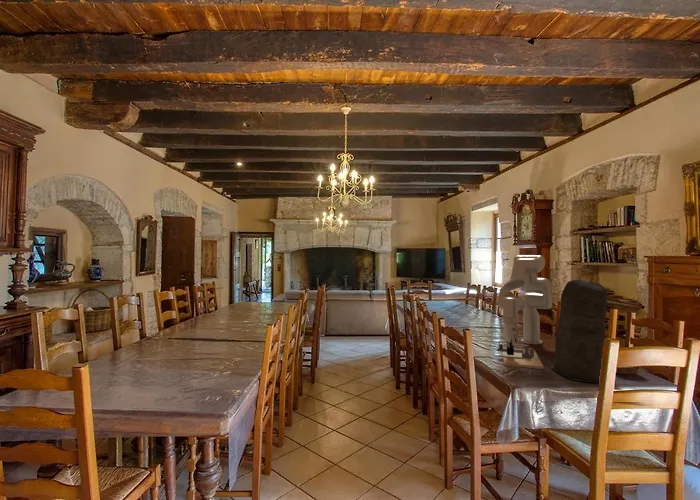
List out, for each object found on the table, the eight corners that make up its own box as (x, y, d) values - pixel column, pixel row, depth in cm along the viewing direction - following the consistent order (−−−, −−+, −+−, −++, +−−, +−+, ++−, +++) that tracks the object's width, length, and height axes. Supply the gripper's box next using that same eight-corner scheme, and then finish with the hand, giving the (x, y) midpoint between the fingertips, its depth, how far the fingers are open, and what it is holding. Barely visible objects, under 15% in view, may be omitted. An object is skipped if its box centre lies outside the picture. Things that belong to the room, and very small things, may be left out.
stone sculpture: (557, 382, 168) (567, 284, 163) (548, 365, 187) (557, 276, 183) (619, 392, 160) (631, 289, 156) (603, 373, 180) (614, 281, 175)
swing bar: (523, 352, 203) (523, 345, 203) (523, 353, 201) (523, 346, 201) (497, 350, 206) (497, 344, 207) (497, 351, 205) (497, 344, 205)
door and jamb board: (501, 349, 222) (501, 336, 222) (534, 352, 216) (534, 339, 216) (504, 365, 190) (504, 350, 190) (543, 369, 184) (543, 353, 184)
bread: (639, 375, 175) (639, 353, 176) (617, 375, 175) (617, 354, 175) (609, 363, 194) (609, 344, 194) (589, 363, 193) (589, 344, 194)
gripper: (522, 322, 194) (522, 358, 193) (512, 318, 209) (512, 351, 208) (507, 322, 194) (507, 357, 194) (498, 318, 209) (498, 351, 209)
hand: (510, 354), depth 201 cm, fingers closed
